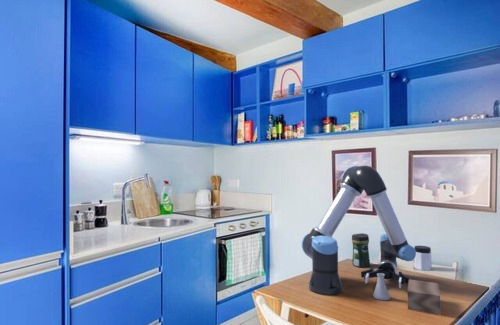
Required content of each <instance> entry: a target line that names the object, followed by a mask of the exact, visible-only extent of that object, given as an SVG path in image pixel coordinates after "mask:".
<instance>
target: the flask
mask: <svg viewBox="0 0 500 325" xmlns="http://www.w3.org/2000/svg"><path fill="white" fill-rule="evenodd" d="M377 276H378V277H377V281H376V285H375V287H374V292H373V294H372V298H374V299H375V300H379V301H390V299H391V295H390V293H389V290H388V288H387V285H386V282H385V281H386V280H385V279H384V276H385V274H383V273H377Z"/></svg>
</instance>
